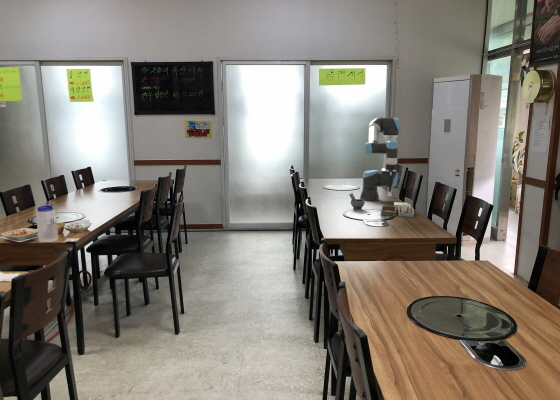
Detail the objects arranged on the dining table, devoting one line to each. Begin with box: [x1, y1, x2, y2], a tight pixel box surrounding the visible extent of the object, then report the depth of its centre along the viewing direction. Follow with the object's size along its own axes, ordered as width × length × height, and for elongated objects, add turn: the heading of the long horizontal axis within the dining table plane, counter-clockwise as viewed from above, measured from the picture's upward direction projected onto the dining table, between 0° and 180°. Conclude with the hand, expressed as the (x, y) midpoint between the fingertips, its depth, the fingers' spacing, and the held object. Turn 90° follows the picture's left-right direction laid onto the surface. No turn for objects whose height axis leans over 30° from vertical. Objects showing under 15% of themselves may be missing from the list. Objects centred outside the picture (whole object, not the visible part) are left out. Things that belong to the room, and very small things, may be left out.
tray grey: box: [397, 206, 415, 218], centre depth 313 cm, size 20×10×2 cm, turn 166°
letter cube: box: [400, 203, 412, 213], centre depth 313 cm, size 6×6×6 cm
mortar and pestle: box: [349, 192, 366, 211], centre depth 323 cm, size 11×9×12 cm
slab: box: [393, 201, 409, 211], centre depth 329 cm, size 10×10×4 cm
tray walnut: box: [380, 205, 397, 217], centre depth 316 cm, size 20×10×2 cm, turn 166°
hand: (389, 194), depth 314 cm, fingers open, 13 cm apart
